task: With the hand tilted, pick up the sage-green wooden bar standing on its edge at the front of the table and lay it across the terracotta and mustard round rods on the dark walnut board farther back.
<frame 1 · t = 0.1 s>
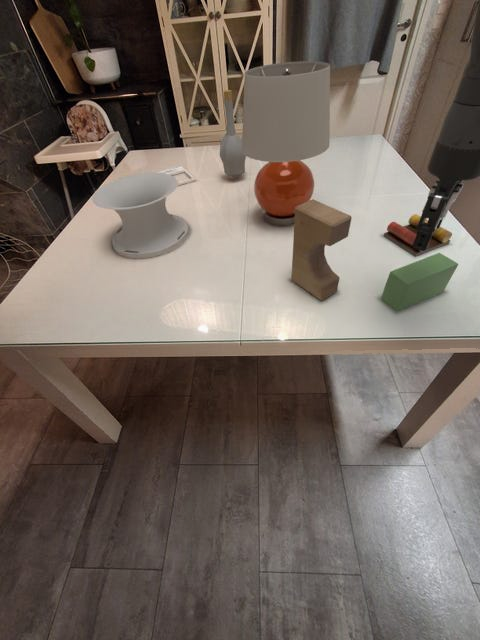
hand: (425, 237, 55), 18 cm above the table, tool pointing down, fingers open, 8 cm apart
rod rack: (415, 239, 85), on the table
photo frame: (173, 178, 132), on the table
vase: (151, 236, 99), on the table
decorative block: (313, 286, 75), on the table
bar: (412, 295, 70), on the table
bottle: (235, 179, 126), on the table
lamp: (283, 217, 101), on the table
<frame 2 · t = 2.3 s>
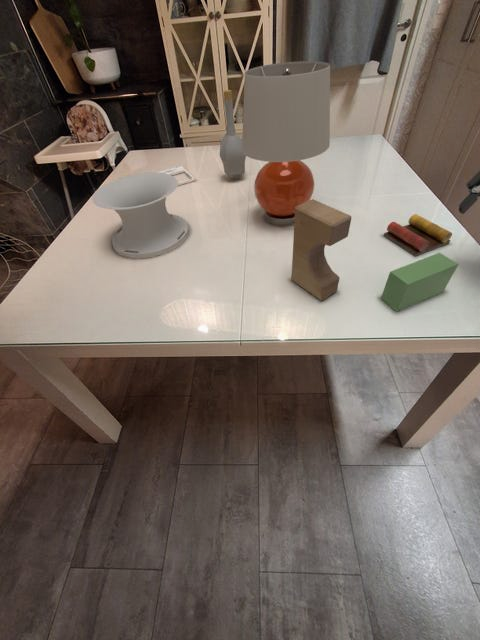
hand: (479, 220, 61), 16 cm above the table, tool tilted 45°, fingers open, 8 cm apart
nothing on the table moved.
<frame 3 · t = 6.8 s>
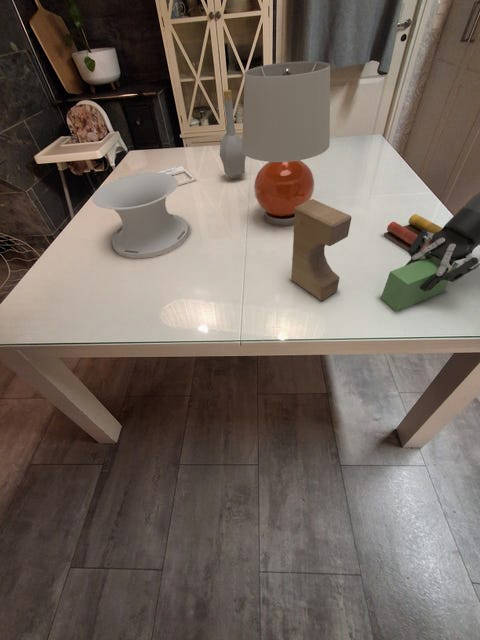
hand: (412, 282, 66), 5 cm above the table, tool tilted 45°, fingers closed on bar, 5 cm apart
bar: (411, 295, 70), on the table, touching gripper
everything else where it was.
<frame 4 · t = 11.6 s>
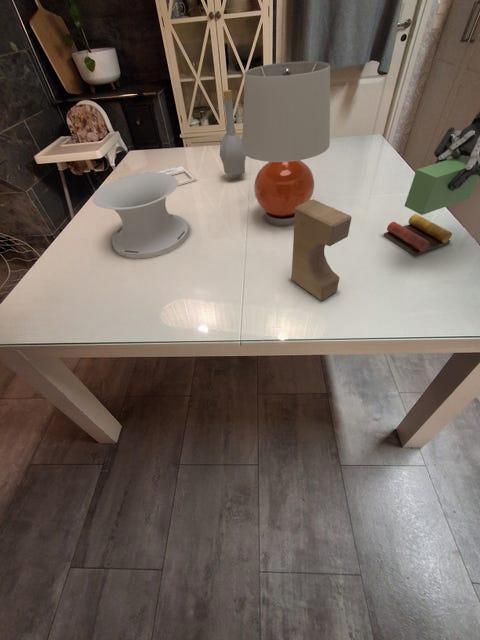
hand: (439, 183, 64), 20 cm above the table, tool tilted 45°, fingers closed on bar, 5 cm apart
bar: (436, 202, 67), point 16 cm above the table, touching gripper
everything else where it was.
when the fingers open (9 cm above the table, at t = 16.6 s): bar stays where it is, resting on rod rack.
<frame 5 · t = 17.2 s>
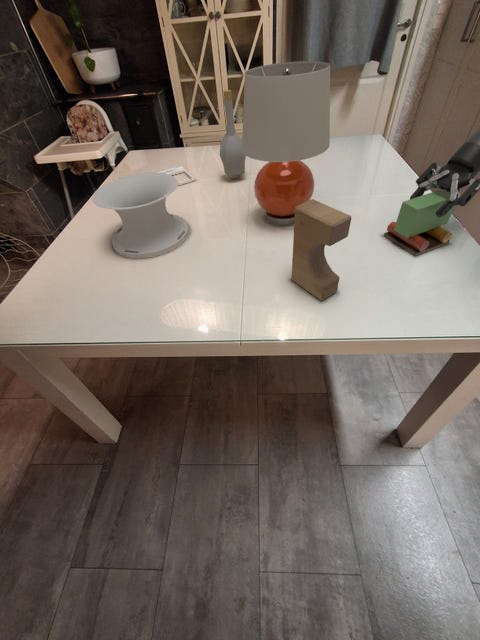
hand: (423, 208, 78), 10 cm above the table, tool tilted 45°, fingers open, 8 cm apart
bar: (420, 226, 82), point 4 cm above the table, touching rod rack
everything else where it was.
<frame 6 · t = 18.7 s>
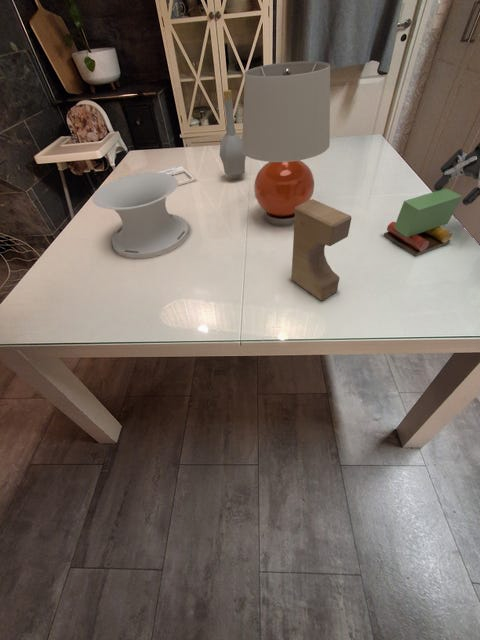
hand: (449, 196, 76), 12 cm above the table, tool tilted 45°, fingers open, 8 cm apart
nothing on the table moved.
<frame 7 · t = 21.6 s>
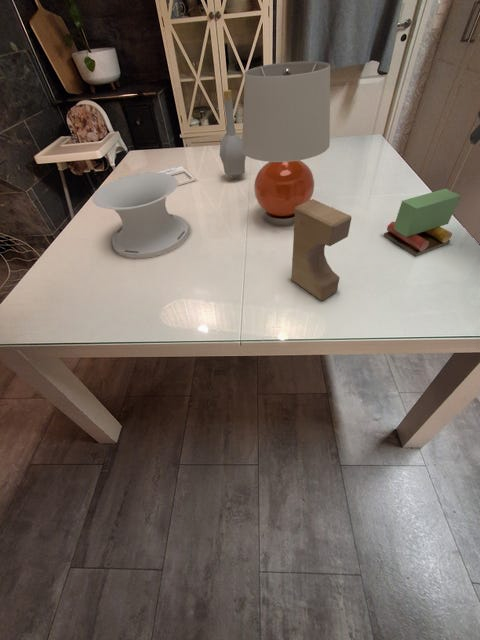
nothing on the table moved.
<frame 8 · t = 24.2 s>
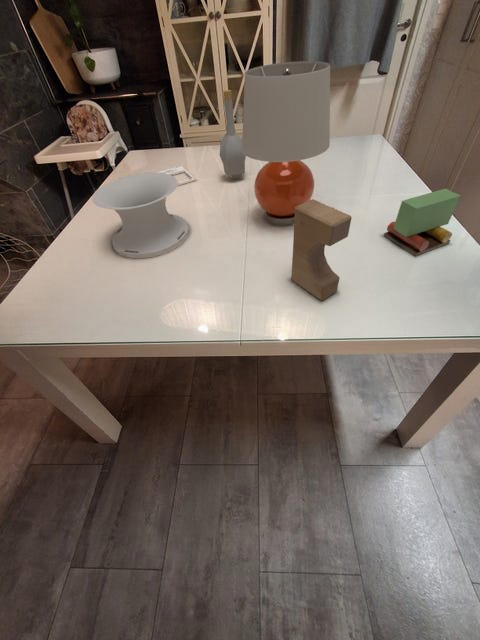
nothing on the table moved.
at the end: bar 0.4 cm off-centre on the rod rack, point 4.0 cm above the rod rack's base; bar tilted 0°; the gripper is holding nothing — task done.
